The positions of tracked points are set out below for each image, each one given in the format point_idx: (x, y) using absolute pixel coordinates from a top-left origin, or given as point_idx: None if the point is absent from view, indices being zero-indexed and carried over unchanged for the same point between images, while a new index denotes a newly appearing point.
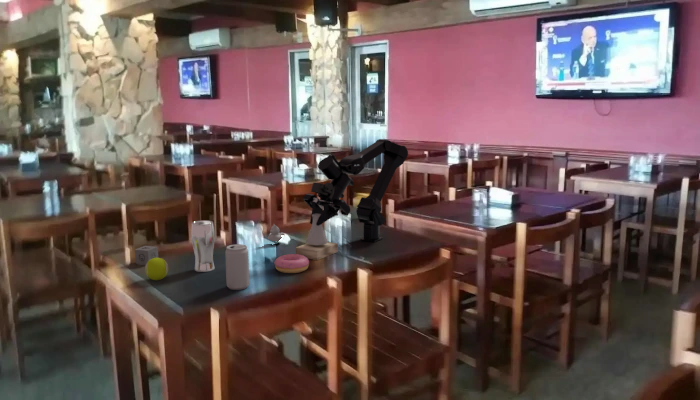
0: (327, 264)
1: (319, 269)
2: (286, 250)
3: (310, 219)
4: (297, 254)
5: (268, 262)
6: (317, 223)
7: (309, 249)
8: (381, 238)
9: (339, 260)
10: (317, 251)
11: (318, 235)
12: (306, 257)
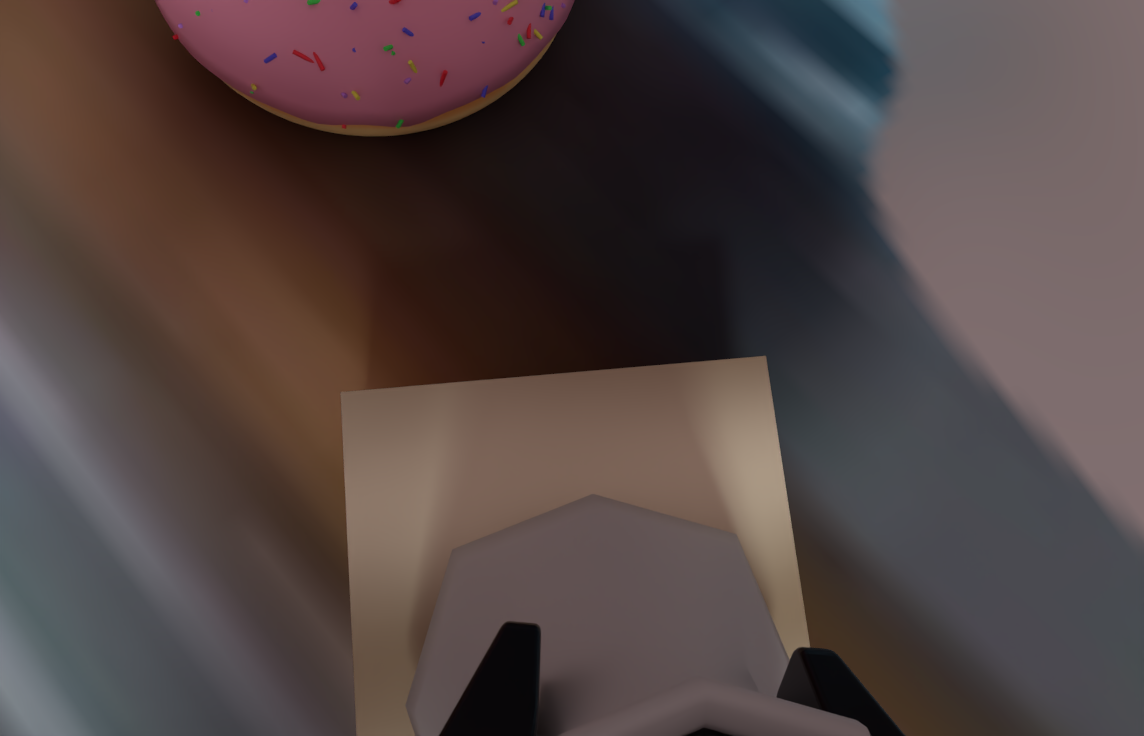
0: (123, 351)
1: (82, 133)
2: (1036, 515)
3: (889, 722)
4: (394, 11)
5: (779, 4)
6: (494, 645)
7: (515, 404)
8: None
9: (88, 606)
10: (341, 403)
11: (481, 622)
12: (230, 28)
